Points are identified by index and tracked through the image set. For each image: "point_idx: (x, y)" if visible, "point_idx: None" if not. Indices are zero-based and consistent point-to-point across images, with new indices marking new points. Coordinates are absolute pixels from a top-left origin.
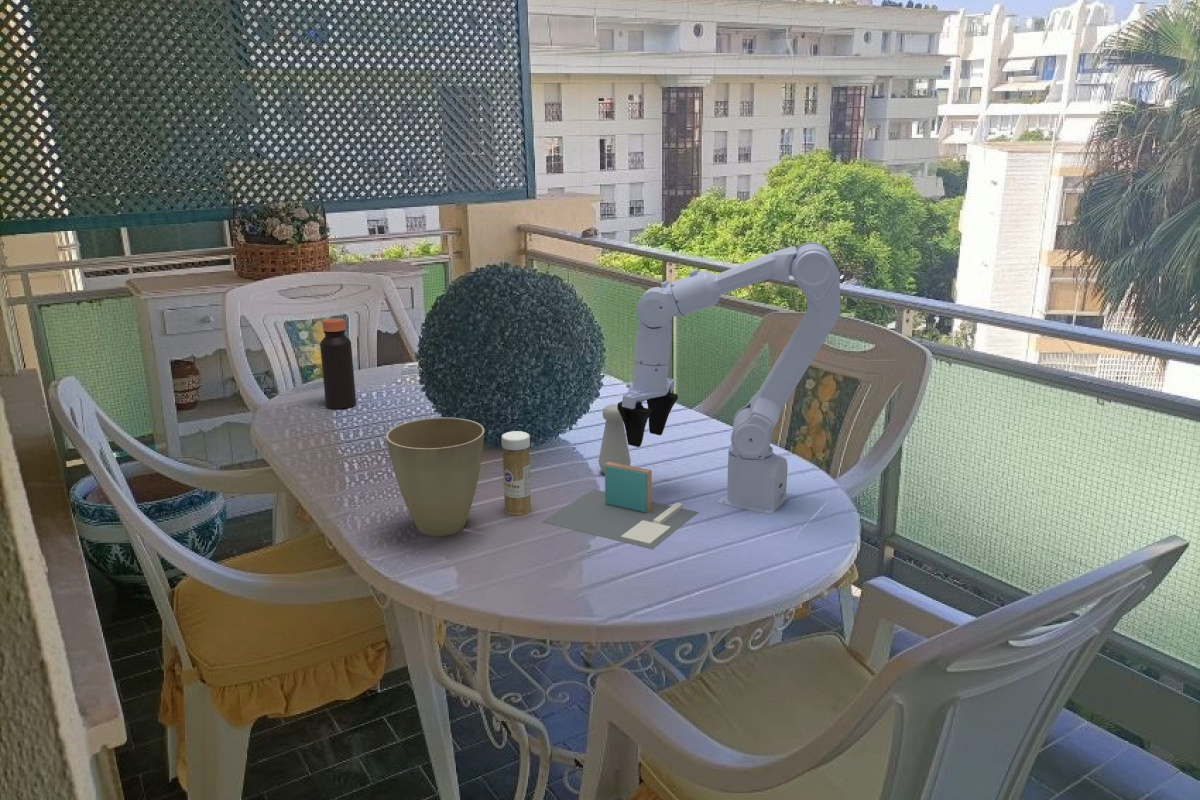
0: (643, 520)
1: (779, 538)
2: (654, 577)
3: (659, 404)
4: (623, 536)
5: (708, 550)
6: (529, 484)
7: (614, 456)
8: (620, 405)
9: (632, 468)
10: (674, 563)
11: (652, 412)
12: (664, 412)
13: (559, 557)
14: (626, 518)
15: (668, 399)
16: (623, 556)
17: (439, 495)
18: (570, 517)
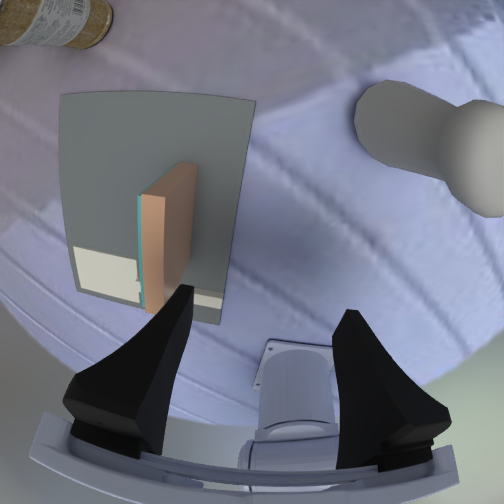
0: (136, 261)
1: (194, 392)
2: (43, 300)
3: (358, 426)
4: (75, 249)
5: (122, 341)
6: (51, 42)
7: (372, 135)
8: (65, 404)
9: (149, 275)
10: (74, 314)
11: (364, 377)
12: (343, 412)
13: (10, 187)
14: (134, 229)
15: (344, 463)
16: (50, 259)
17: None
18: (92, 130)
